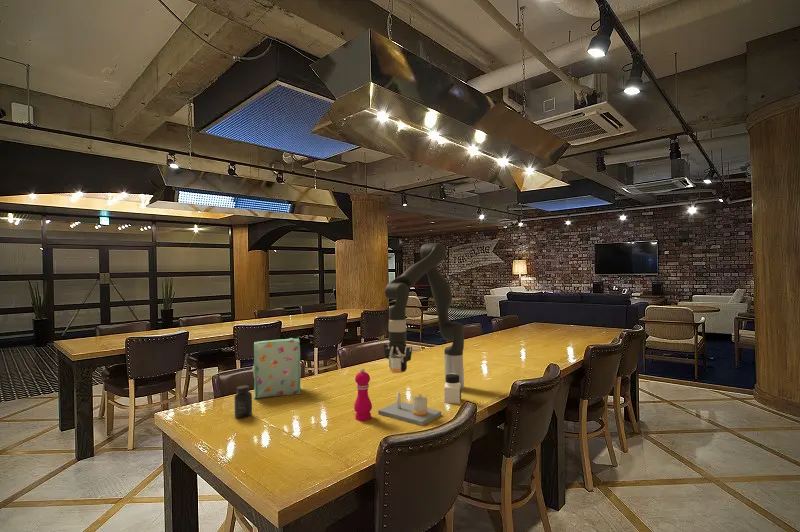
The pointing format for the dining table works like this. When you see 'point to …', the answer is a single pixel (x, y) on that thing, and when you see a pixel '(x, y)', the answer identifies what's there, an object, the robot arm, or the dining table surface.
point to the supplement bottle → (243, 402)
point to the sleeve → (396, 364)
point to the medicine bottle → (452, 389)
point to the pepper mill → (362, 397)
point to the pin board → (411, 411)
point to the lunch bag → (276, 368)
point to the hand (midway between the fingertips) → (397, 370)
